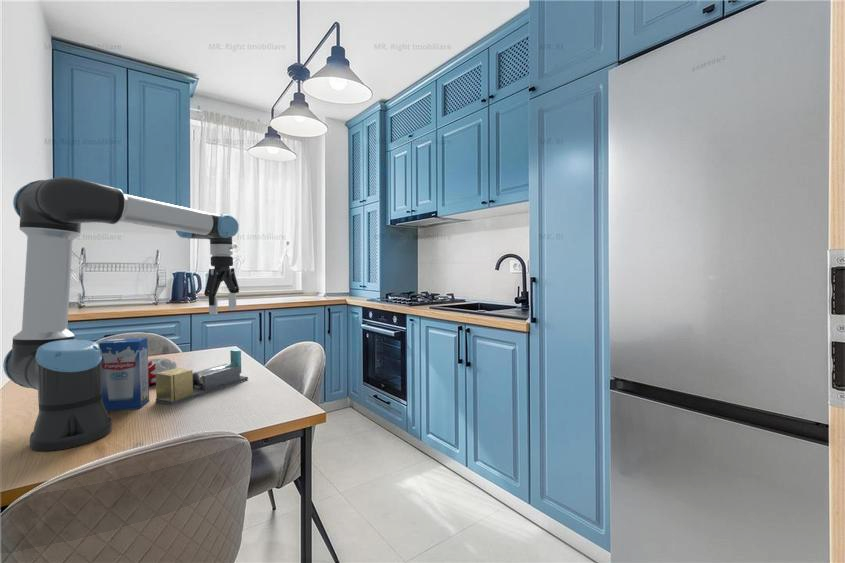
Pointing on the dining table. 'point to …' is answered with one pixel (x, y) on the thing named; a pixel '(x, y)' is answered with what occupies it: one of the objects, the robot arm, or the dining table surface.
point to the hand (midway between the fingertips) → (223, 311)
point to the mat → (200, 392)
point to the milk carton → (124, 373)
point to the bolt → (234, 362)
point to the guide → (191, 381)
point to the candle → (158, 367)
